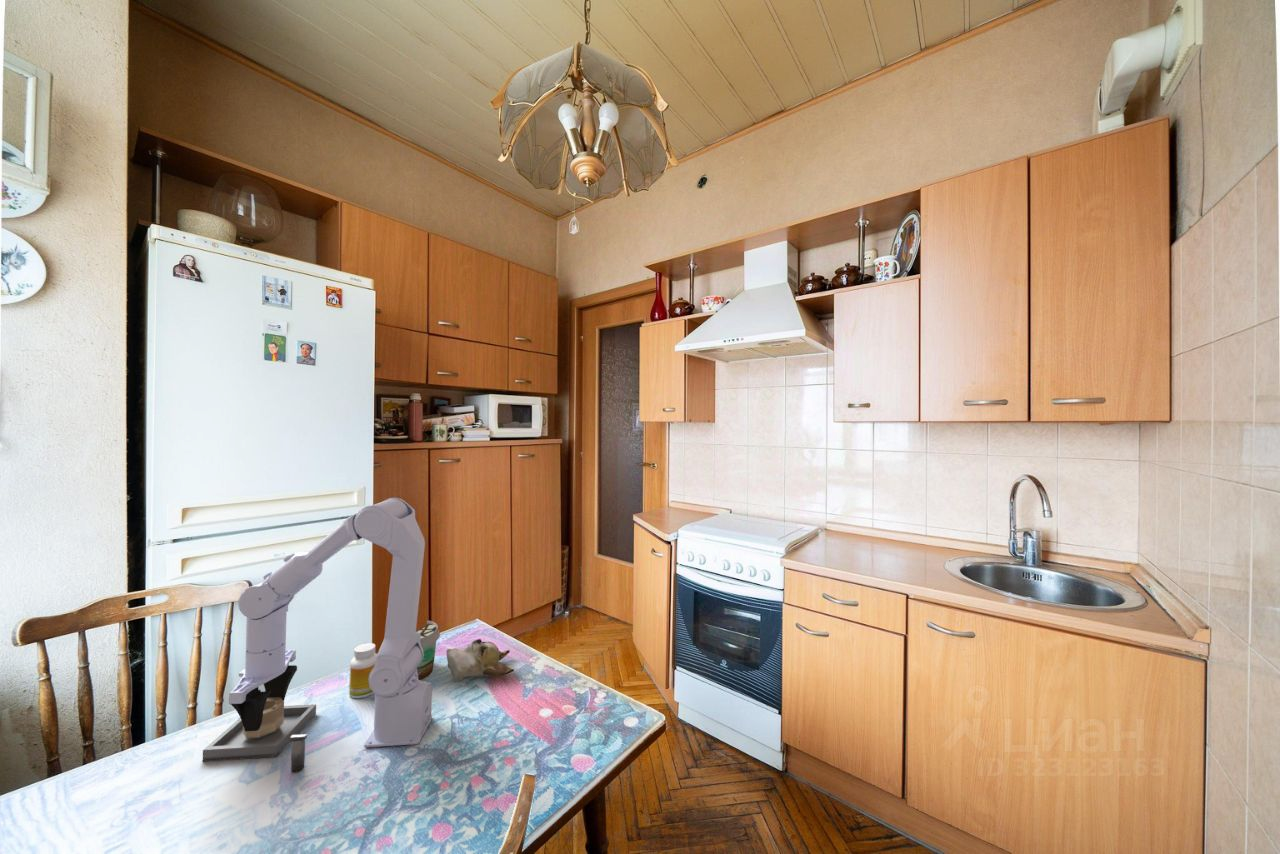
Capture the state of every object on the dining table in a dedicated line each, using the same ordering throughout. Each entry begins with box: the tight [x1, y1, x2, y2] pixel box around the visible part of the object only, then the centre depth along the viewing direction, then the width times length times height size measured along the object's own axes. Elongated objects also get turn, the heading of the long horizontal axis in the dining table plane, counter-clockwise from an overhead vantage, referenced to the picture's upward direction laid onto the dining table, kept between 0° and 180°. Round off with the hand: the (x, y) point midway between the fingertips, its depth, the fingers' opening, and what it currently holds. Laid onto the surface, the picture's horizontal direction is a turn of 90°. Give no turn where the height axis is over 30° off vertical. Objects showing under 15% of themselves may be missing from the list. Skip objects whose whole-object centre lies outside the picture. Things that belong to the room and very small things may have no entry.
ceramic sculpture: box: [446, 638, 515, 683], centre depth 105 cm, size 11×9×15 cm
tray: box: [202, 703, 317, 762], centre depth 83 cm, size 12×12×2 cm
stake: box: [290, 733, 308, 774], centre depth 75 cm, size 2×2×6 cm
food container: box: [416, 620, 441, 681], centre depth 105 cm, size 12×6×10 cm, turn 168°
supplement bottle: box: [348, 642, 378, 699], centre depth 97 cm, size 5×5×10 cm
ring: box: [243, 697, 285, 738], centre depth 83 cm, size 5×5×4 cm
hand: (264, 718), depth 83 cm, fingers closed on ring, 5 cm apart
